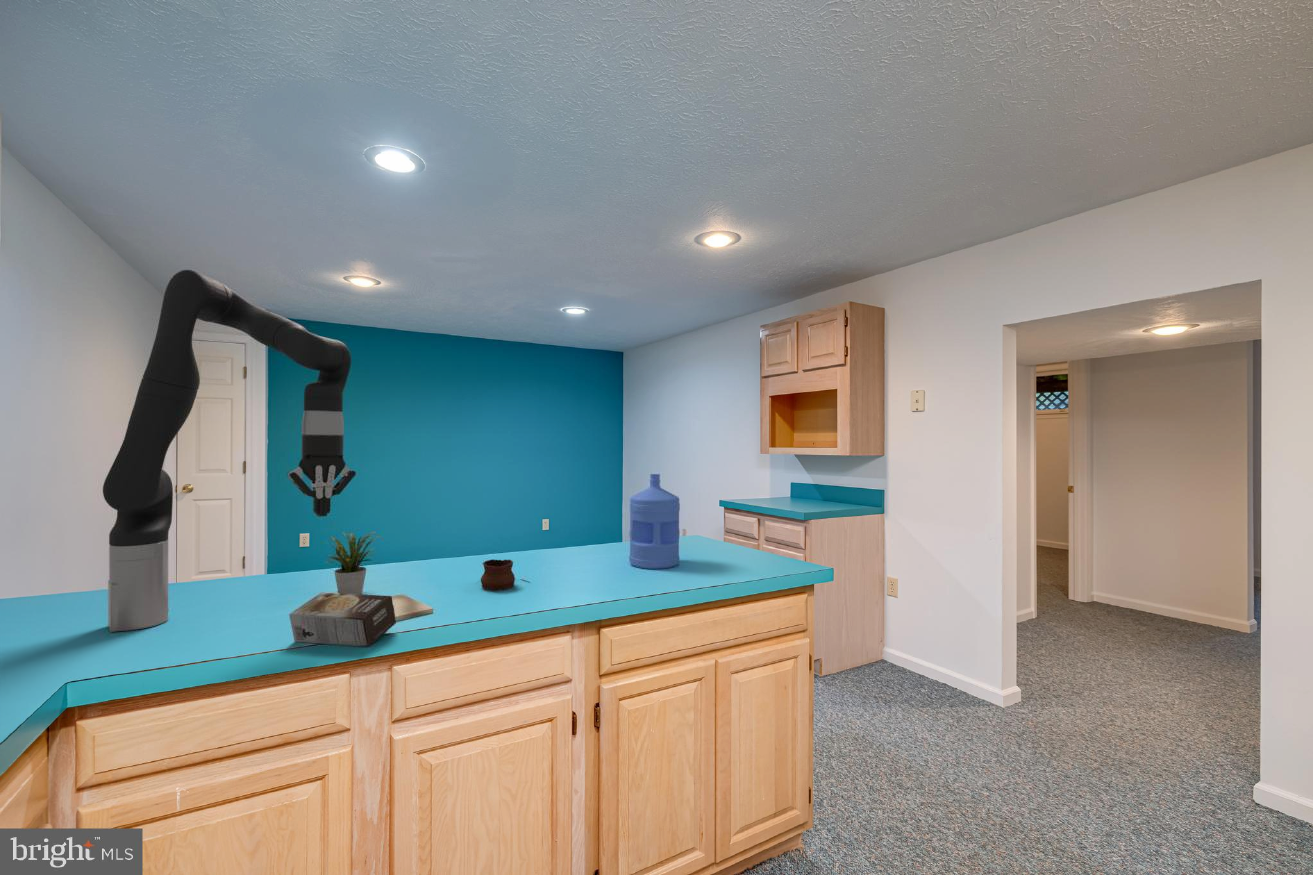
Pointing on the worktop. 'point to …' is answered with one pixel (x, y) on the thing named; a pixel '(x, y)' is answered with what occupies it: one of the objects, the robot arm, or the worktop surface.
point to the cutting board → (408, 607)
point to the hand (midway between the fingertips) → (321, 515)
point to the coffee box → (343, 619)
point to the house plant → (350, 565)
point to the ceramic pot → (498, 575)
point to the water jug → (654, 527)
